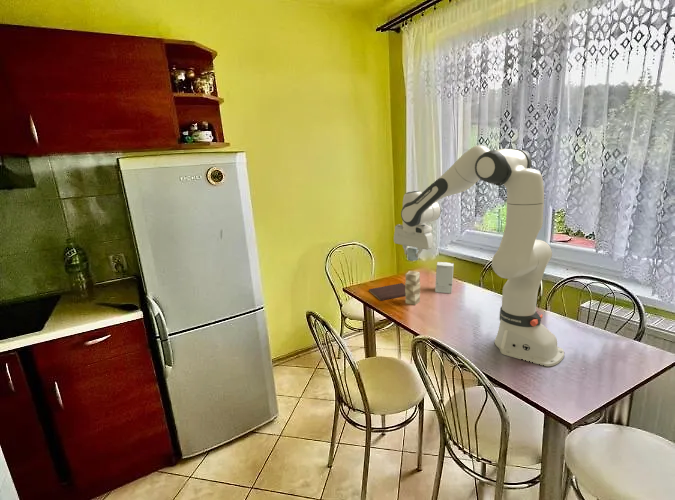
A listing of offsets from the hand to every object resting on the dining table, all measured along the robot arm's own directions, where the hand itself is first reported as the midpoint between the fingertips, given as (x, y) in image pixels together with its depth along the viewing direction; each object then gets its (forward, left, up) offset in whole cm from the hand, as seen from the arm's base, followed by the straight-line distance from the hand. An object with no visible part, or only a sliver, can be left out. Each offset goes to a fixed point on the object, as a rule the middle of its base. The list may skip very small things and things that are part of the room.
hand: (412, 255), depth 172 cm
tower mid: (0, 0, -19) cm, 19 cm away
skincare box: (-3, -22, -24) cm, 33 cm away
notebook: (+16, -3, -24) cm, 29 cm away
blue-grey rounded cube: (0, 0, -2) cm, 2 cm away
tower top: (0, 0, -14) cm, 14 cm away
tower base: (0, 0, -24) cm, 24 cm away
